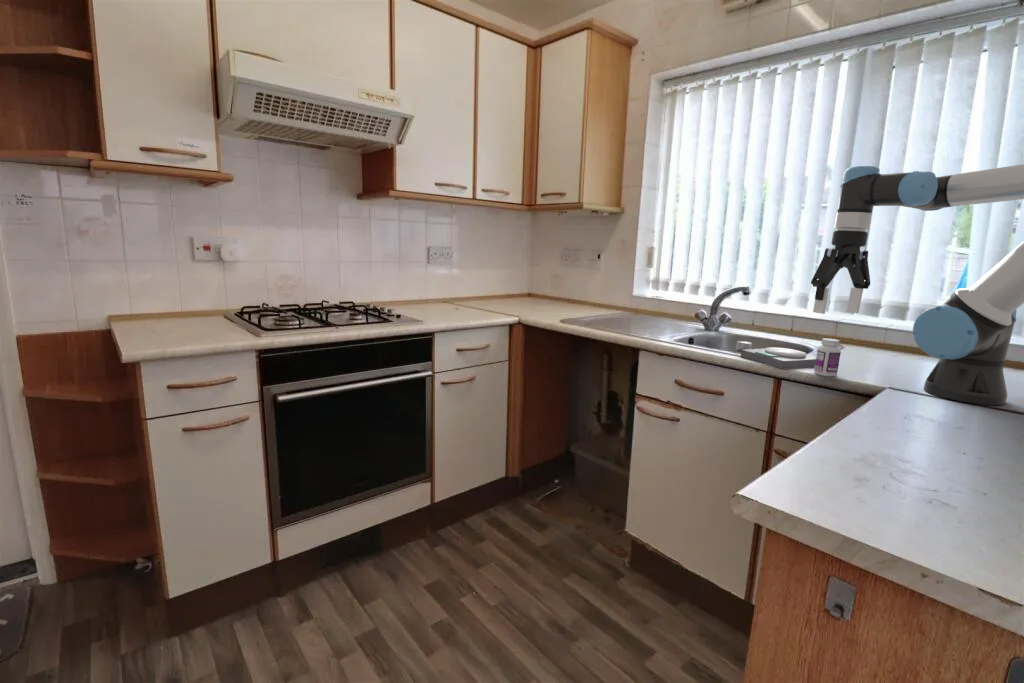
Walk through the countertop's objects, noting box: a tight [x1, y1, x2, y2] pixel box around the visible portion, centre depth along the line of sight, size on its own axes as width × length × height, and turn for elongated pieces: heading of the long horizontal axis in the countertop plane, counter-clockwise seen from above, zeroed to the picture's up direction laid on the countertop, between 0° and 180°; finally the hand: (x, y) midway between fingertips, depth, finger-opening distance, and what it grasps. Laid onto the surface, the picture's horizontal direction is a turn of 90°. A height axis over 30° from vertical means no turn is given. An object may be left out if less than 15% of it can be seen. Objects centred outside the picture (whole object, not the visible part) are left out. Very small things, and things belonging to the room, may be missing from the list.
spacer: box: [735, 340, 753, 353], centre depth 167 cm, size 4×4×3 cm
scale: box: [740, 346, 817, 370], centre depth 155 cm, size 16×15×3 cm
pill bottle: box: [814, 337, 842, 378], centre depth 140 cm, size 5×5×10 cm
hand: (836, 312), depth 137 cm, fingers open, 13 cm apart
